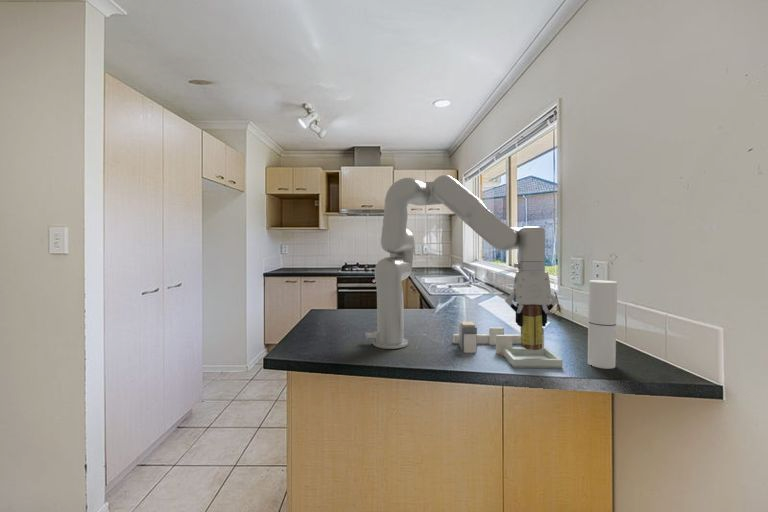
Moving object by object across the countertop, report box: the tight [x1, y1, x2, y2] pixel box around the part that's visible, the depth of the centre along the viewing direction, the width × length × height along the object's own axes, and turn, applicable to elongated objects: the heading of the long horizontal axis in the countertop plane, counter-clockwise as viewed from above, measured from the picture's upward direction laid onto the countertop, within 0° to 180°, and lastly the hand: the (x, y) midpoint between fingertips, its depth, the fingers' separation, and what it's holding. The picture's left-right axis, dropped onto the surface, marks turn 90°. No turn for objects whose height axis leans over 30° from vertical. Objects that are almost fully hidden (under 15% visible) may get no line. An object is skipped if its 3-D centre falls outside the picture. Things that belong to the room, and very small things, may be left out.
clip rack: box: [452, 321, 545, 357], centre depth 125 cm, size 30×15×9 cm, turn 87°
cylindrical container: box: [587, 279, 618, 370], centre depth 108 cm, size 7×7×25 cm
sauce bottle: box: [520, 305, 543, 350], centre depth 111 cm, size 7×6×20 cm
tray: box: [502, 347, 563, 370], centre depth 112 cm, size 14×12×2 cm
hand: (531, 324), depth 112 cm, fingers closed on sauce bottle, 6 cm apart
